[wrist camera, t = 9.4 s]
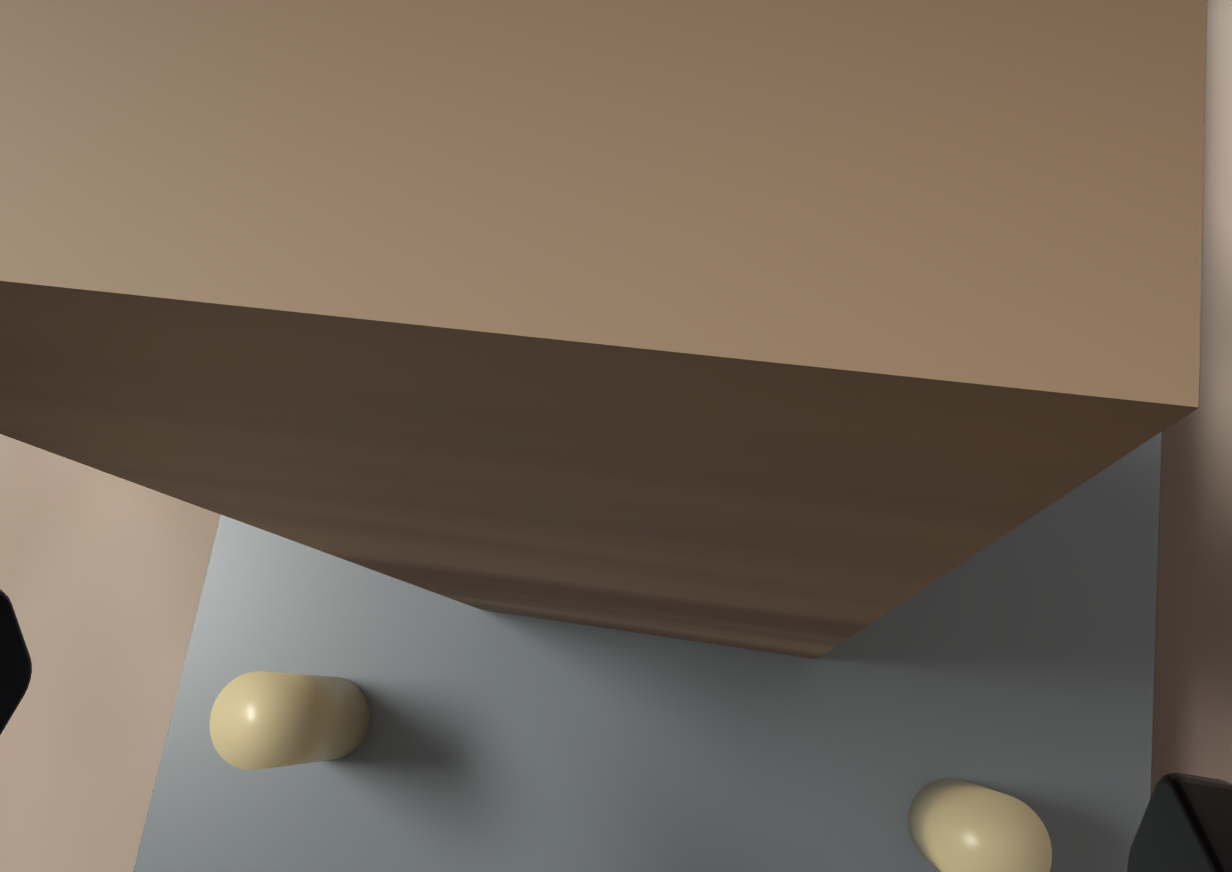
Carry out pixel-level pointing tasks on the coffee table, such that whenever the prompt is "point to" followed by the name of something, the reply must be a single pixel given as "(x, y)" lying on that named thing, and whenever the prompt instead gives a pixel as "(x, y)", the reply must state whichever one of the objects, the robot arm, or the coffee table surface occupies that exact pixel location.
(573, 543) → the walnut block
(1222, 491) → the coffee table surface
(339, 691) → the plate
